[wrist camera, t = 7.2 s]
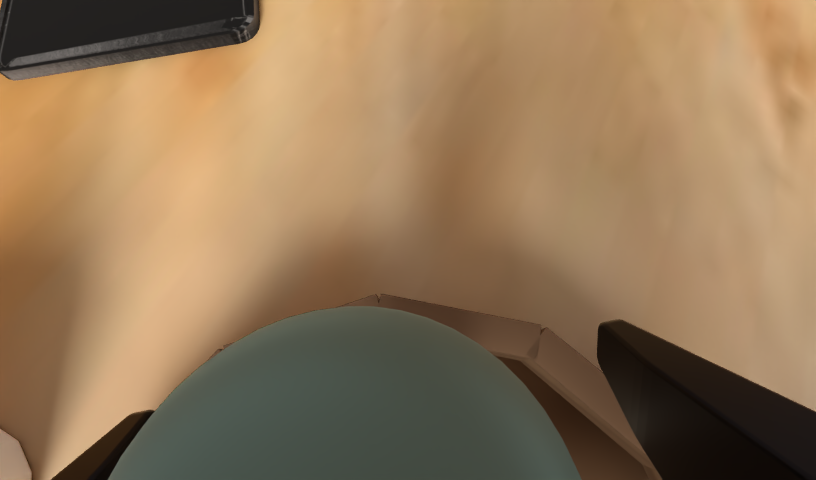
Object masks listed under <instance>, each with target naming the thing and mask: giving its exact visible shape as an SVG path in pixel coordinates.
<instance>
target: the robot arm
mask: <svg viewBox="0 0 816 480" xmlns="http://www.w3.org/2000/svg"><path fill="white" fill-rule="evenodd" d="M597 358H598V362H599V365H600V367H601V369H602V371H603V373H604V375H605V377H606V379H607V381H608V383H609V385H610V387H611V389H612V391H613V393H614V395H615V397H616V399H617V401H618V403H619V405H620V407H621V409H622V411H623V413H624V415H625V417H626V419H627V421H628V423H629V425H630V427H631V429H632V431H633V433H634V435H635V437H636V438H637V440H638V442H639V443H640V445H641V447H642V448H643V450H644V451H645V453H646V455H647V456H648V458H649V459H650V461H651V463H652V464H653V466H654V467H655V469H656V470H657V472H658V474H659V475H660V477H661V478H662V480H816V412H815V411H813V410H811V409H809V408H807V407H805V406H803V405H801V404H798V403H796V402H794V401H792V400H790V399H788V398H786V397H784V396H782V395H780V394H777V393H775V392H773V391H771V390H769V389H767V388H765V387H763V386H761V385H758V384H756V383H754V382H752V381H750V380H748V379H746V378H744V377H742V376H739V375H737V374H735V373H733V372H731V371H729V370H727V369H725V368H723V367H721V366H718V365H716V364H714V363H712V362H710V361H708V360H706V359H704V358H702V357H699V356H697V355H695V354H693V353H691V352H689V351H687V350H685V349H683V348H681V347H678V346H676V345H674V344H672V343H670V342H668V341H666V340H664V339H662V338H659V337H657V336H655V335H653V334H651V333H649V332H647V331H645V330H643V329H640V328H638V327H636V326H634V325H632V324H630V323H628V322H626V321H623V320H612V321H607V322H603V323H601V324H600V325H599V327H598V341H597ZM154 412H155V411H154V410H146V411H141V412H136V413H133V414H130V415H129V416H127V417H126V418H125V419H124V420H123V421H121V422H120V423H119V424H118V425H116V426H115V427H114V428H113V429H112V430H110V431H109V432H108V433H107V434H106V435H104V436H103V437H102V438H101V439H100V440H98V441H97V442H96V443H95V444H93V445H92V446H91V447H90V448H89V449H87V450H86V451H85V452H84V453H83V454H81V455H80V456H79V457H78V458H77V459H75V460H74V461H73V462H72V463H70V464H69V465H68V466H67V467H66V468H64V469H63V470H62V471H61V472H60V473H58V474H57V475H56V476H55V477H53V478H52V479H51V480H108V478H109V477H110V475H111V473H112V471H113V470H114V468H115V466H116V464H117V463H118V461H119V459H120V457H121V456H122V454H123V453H124V452H125V450H126V449H127V447H128V446H129V445H130V443H131V442H132V440H133V439H134V438H135V436H136V435H137V433H138V432H139V431H140V429H141V428H142V427H143V425H144V424H145V423H146V422H147V420H148V419H149V418H150V416H151V415H152V414H153V413H154Z"/></svg>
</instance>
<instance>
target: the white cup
mask: <svg viewBox="0 0 816 480" xmlns="http://www.w3.org/2000/svg"><path fill="white" fill-rule="evenodd" d="M31 478H32V472H31V470H30V467H29V465H28V462H27V460H26V458H25V455H24V453H23V450H22V448H21V446H20V443H19V441H18V440H16V439H15V438H13V437H12V436H10V435H9V434H7V433H6V432H4V431H3V430H1V429H0V480H31Z"/></svg>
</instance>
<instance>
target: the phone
mask: <svg viewBox="0 0 816 480" xmlns="http://www.w3.org/2000/svg"><path fill="white" fill-rule="evenodd" d="M259 25H260V20H259V0H2V4H1V9H0V73H1V74H2V75H4V76H5V77H6V78H8V79H11V80H24V79H30V78H36V77H42V76H48V75H54V74H60V73H66V72H72V71H78V70H84V69H90V68H96V67H102V66H108V65H114V64H120V63H126V62H132V61H138V60H144V59H150V58H156V57H162V56H168V55H174V54H180V53H186V52H192V51H198V50H204V49H210V48H216V47H222V46H228V45H234V44H240V43H243V42H246V41H248V40H250V39H252V38H253V37H254V36H255V35H256V34H257V32H258V30H259Z"/></svg>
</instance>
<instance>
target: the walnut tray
mask: <svg viewBox="0 0 816 480" xmlns="http://www.w3.org/2000/svg"><path fill="white" fill-rule="evenodd" d="M346 306H374V307H381V308H388V309H396V310H402V311H405V312H409V313H413V314H416V315H420V316H423V317H427V318H429V319H432V320H434V321H436V322H439V323H441V324H444V325H446V326H448V327H451V328H453V329H455V330H456V331H458V332H460V333H461V334H463V335H465V336H467V337H468V338H470V339H472V340H473V341H475V342H477V343H478V344H480V345H481V346H482V347H484V348H485V349H486V350H487V351H489V352H490V353H491V354H493V355H494V356H495V357H496V358H498V359H499V360H500V361H502V362H503V363H504V364H505V365H506V366H507V367H508V368H509V369H510V370H511V371H512V372H513V373H514V374H515V375H516V376H517V377H518V378H519V379H520V380H521V381H522V382H523V383H524V384H525V386H526V387H527V388H528V389H529V391H530V392H531V393H532V394H533V396H534V397H535V398H536V400H537V401H538V402H539V403H540V405H541V406H542V407H543V408H544V410H545V411H546V413H547V415H548V416H549V418H550V420H551V421H552V423H553V424H554V426H555V428H556V429H557V431H558V432H559V434H560V436H561V437H562V439H563V441H564V443H565V445H566V447H567V449H568V451H569V453H570V456H571V458H572V460H573V462H574V464H575V466H576V468H577V470H578V472H579V475H580V477H581V479H582V480H662V478H661V477H660V475H659V474H658V472H657V470H656V469H655V467H654V466H653V464H652V463H651V461H650V459H649V458H648V456H647V455H646V453H645V451H644V450H643V448H642V447H641V445H640V443H639V442H638V440H637V438H636V437H635V435H634V433H633V431H632V429H631V427H630V425H629V423H628V421H627V419H626V417H625V415H624V413H623V411H622V409H621V407H620V405H619V403H618V401H617V399H616V397H615V395H614V393H613V391H612V389H611V387H610V385H609V383H608V381H607V379H606V377H605V375H604V373H603V372H601V371H600V370H599V369H598V368H596V367H595V366H594V365H593V364H591V363H590V362H589V361H588V360H586V359H585V358H584V357H583V356H582V355H580V354H579V353H578V352H577V351H575V350H574V349H573V348H572V347H570V346H569V345H568V344H567V343H565V342H564V341H563V340H562V339H560V338H559V337H558V336H557V335H555V334H554V333H553V332H552V331H551V330H549V329H548V328H547V327H546V328H544V329H542V330H541V325H539V324H534V323H529V322H524V321H519V320H514V319H508V318H503V317H498V316H493V315H488V314H483V313H478V312H472V311H467V310H462V309H457V308H452V307H447V306H442V305H436V304H431V303H426V302H421V301H416V300H411V299H405V298H400V297H395V296H390V295H385V294H381V297H380V299H379V298H378V296H377V295H376V294H375V295H372V296H369V297H366V298H363V299H360V300H357V301H354V302H351V303H348V304H345V305H342V306H339V307H346ZM337 308H338V307H337ZM233 343H234V342H233ZM233 343H230V344H228V345H225V346H223V347H224V349H225V348H227V347H228V346H230V345H231V344H233ZM221 351H222V349H218V350H217V351H216V352H215V353H214V354H213V355H212V356H211V357H210V358H209V359H208V360H210V359H211V358H213V357H214V356H215V355H217V354H218V353H220V352H221ZM208 360H207V361H208ZM207 361H206V362H207ZM206 362H205V363H206Z"/></svg>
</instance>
